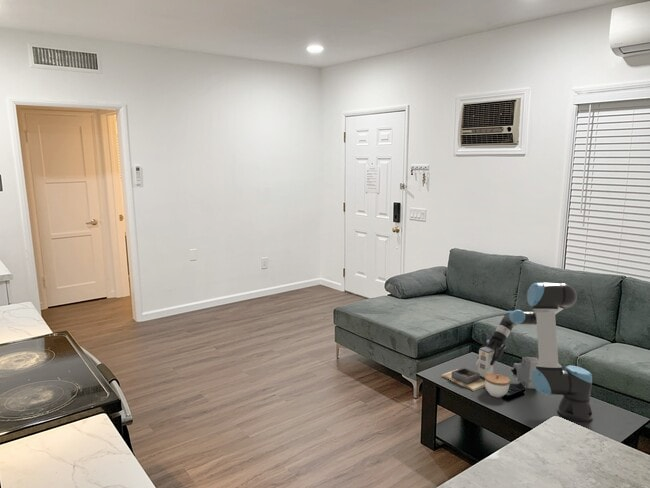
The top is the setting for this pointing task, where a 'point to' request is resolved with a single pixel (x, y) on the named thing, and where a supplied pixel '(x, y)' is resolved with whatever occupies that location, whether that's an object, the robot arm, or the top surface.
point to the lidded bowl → (496, 384)
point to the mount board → (471, 386)
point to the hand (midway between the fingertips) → (481, 366)
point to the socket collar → (459, 374)
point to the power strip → (485, 360)
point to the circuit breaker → (525, 371)
